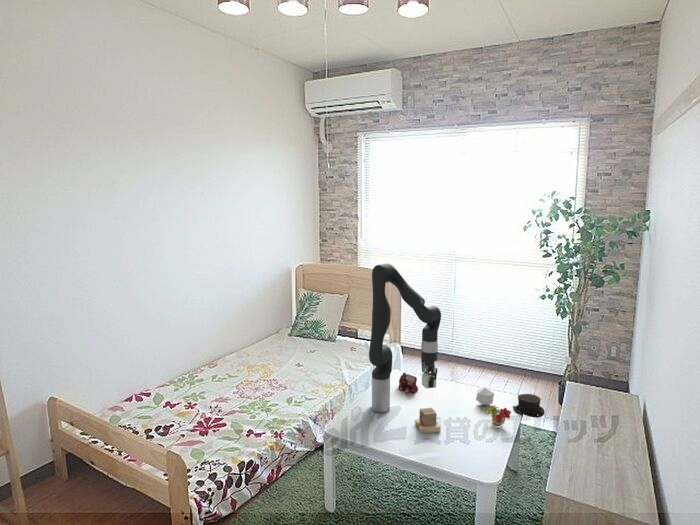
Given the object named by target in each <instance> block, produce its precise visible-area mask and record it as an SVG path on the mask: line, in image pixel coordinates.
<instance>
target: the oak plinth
mask: <svg viewBox="0 0 700 525" xmlns="http://www.w3.org/2000/svg"><path fill="white" fill-rule="evenodd" d="M414 424H415V427H416V428H417V429H418V431H419V432H420V433H421V434H422V435H425V434H433V433H440V432H441V430H442V428H441V425H440V424H439V423H438V422H437V421H436V426H427V427H424V426H423V425H422V424H421V422H420V421H419V418H418V419H415V423H414Z"/></svg>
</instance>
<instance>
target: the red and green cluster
mask: <svg viewBox="0 0 700 525" xmlns="http://www.w3.org/2000/svg"><path fill="white" fill-rule="evenodd" d="M486 412H487V413H486V415H489V414H490V413H491V421H492V422H494V424H496V425H497V426H502V425H504V424H505V422H506V419H510V418H511V414H512V411H511V410H508V409H507V407H504V408H500V409H499V406H496V405H490V407H488V408H486Z"/></svg>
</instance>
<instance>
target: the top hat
mask: <svg viewBox="0 0 700 525" xmlns="http://www.w3.org/2000/svg"><path fill="white" fill-rule="evenodd" d="M517 393H518V395H517V401H518V402H517V403H518V404H516V405H513V406H512V409H513V410H514V411H516V412H517V413H518V414H521V415H524V416H527V417H529V418H530V417H531V418H537V419H538V418H542V417H543V416H544V415H545V412H546V411H545V409H544V408H543V407H542V406H541V400H542V398H540V397H539V396H538V395H536V394H532V393H522V394H520V392H519V391H518V392H517Z"/></svg>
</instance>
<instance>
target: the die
mask: <svg viewBox="0 0 700 525" xmlns="http://www.w3.org/2000/svg"><path fill="white" fill-rule="evenodd" d="M494 397H495V393H494V392H493V391H491V390H490V389H489V388H487V387H483V388H479V389H477V392H476V397H475V401H477V402H478V403H479V404H481V405H483V406H484V405H486V406H489V405H492V404H493V401H494Z"/></svg>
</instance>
